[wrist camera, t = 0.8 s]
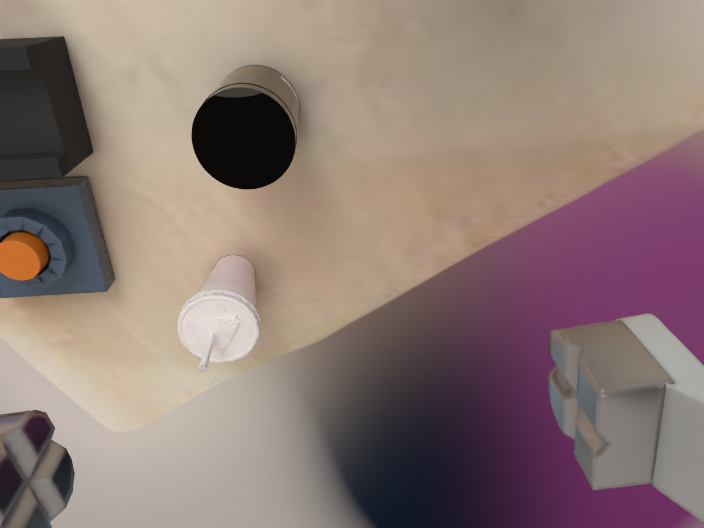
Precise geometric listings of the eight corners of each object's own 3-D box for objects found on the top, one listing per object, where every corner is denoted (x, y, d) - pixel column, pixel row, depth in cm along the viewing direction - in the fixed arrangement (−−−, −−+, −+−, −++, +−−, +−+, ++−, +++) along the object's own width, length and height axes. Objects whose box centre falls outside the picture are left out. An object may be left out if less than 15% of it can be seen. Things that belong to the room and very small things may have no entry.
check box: (-33, 183, 48) (-61, 200, 44) (87, 176, 48) (69, 192, 45) (5, 286, 53) (-18, 309, 49) (115, 280, 53) (100, 302, 49)
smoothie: (184, 264, 53) (143, 356, 40) (240, 228, 51) (214, 311, 39) (229, 313, 55) (202, 413, 43) (283, 280, 54) (272, 373, 41)
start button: (-3, 233, 46) (-14, 242, 45) (42, 230, 46) (32, 239, 45) (11, 272, 48) (0, 282, 46) (54, 269, 48) (45, 279, 47)
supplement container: (198, 98, 46) (168, 131, 37) (262, 44, 44) (248, 64, 35) (254, 163, 48) (240, 208, 39) (317, 114, 47) (317, 149, 38)
